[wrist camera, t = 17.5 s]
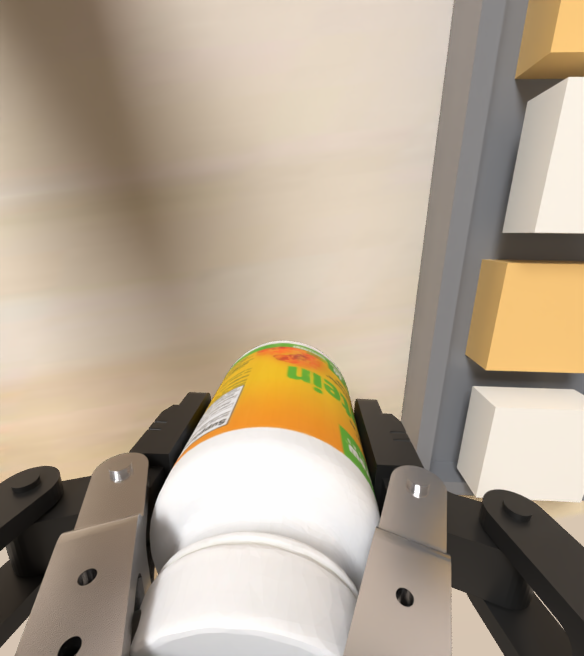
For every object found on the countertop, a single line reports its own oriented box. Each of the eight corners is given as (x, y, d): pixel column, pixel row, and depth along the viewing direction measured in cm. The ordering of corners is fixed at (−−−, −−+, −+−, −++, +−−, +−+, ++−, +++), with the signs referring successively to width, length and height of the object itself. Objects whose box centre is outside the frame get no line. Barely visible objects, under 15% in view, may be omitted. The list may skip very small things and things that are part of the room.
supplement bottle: (373, 394, 14) (518, 738, 4) (289, 468, 15) (259, 857, 6) (281, 311, 13) (212, 513, 3) (199, 397, 14) (-10, 713, 5)
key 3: (482, 259, 19) (507, 263, 16) (587, 261, 18) (629, 265, 16) (465, 354, 20) (485, 370, 18) (561, 357, 20) (595, 373, 18)
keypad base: (466, -94, 16) (509, -184, 12) (725, -102, 15) (845, -198, 12) (396, 457, 25) (410, 492, 21) (555, 464, 24) (595, 501, 21)
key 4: (472, 386, 19) (495, 407, 17) (574, 389, 19) (611, 411, 17) (456, 467, 21) (475, 497, 19) (549, 471, 21) (581, 502, 19)
